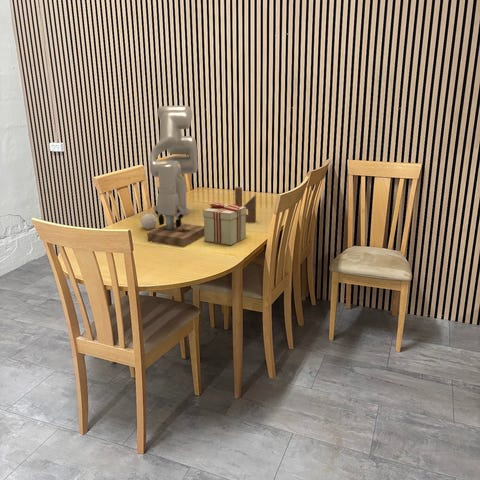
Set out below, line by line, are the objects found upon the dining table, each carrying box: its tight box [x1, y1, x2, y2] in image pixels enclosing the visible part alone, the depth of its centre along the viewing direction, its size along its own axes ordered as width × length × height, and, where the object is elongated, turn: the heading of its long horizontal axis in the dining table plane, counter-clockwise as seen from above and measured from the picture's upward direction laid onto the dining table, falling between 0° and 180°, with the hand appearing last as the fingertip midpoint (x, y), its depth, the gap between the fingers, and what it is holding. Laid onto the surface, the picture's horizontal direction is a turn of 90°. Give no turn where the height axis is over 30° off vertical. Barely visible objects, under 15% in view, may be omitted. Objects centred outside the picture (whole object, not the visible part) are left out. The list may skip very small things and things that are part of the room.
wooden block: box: [234, 186, 257, 224], centre depth 252 cm, size 4×11×18 cm, turn 77°
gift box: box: [202, 201, 247, 246], centre depth 226 cm, size 17×18×17 cm
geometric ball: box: [140, 212, 157, 230], centre depth 244 cm, size 8×8×8 cm
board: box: [146, 221, 205, 248], centre depth 229 cm, size 20×20×4 cm
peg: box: [164, 215, 175, 231], centre depth 230 cm, size 4×4×11 cm
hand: (170, 225), depth 230 cm, fingers open, 9 cm apart
